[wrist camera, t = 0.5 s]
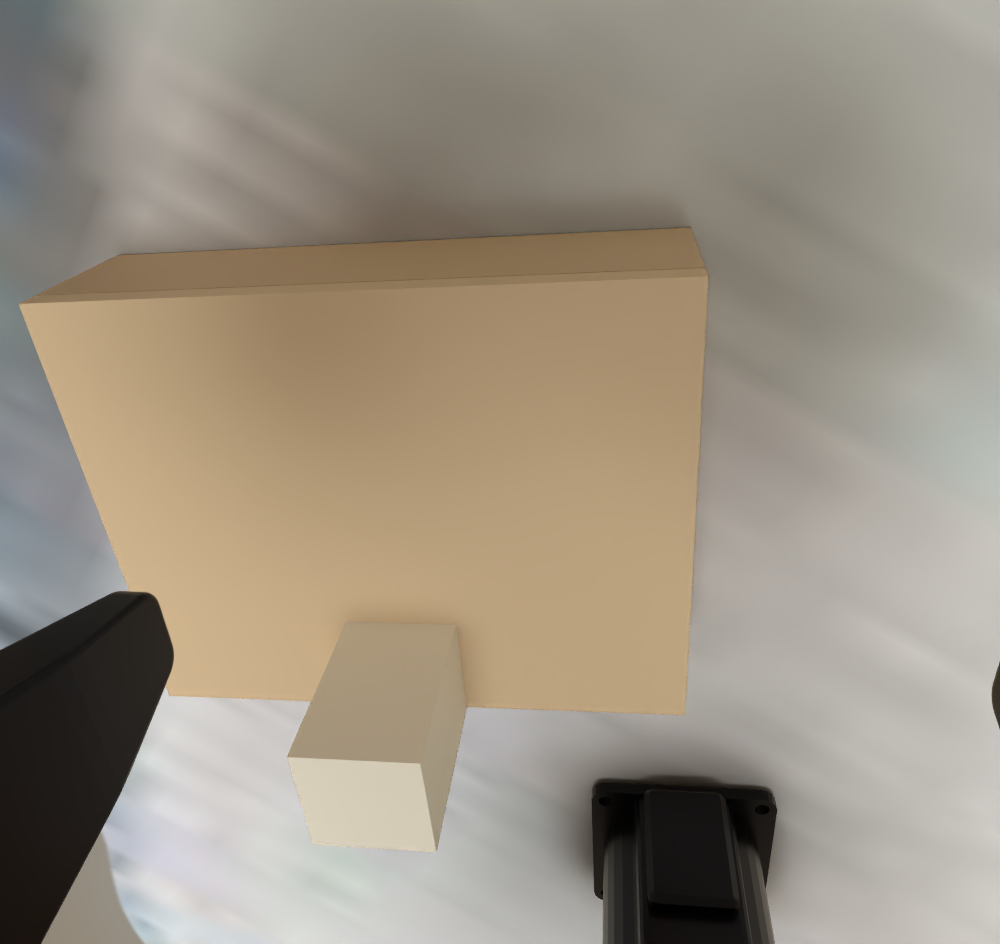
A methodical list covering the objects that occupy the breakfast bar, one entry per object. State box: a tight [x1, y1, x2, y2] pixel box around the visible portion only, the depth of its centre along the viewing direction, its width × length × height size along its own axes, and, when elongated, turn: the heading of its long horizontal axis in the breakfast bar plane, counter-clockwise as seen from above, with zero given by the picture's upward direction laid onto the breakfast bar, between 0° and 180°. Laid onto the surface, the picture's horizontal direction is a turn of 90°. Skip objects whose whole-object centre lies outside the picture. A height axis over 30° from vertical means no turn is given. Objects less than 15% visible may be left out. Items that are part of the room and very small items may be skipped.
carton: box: [37, 227, 705, 296], centre depth 22 cm, size 12×15×4 cm
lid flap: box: [19, 268, 709, 852], centre depth 18 cm, size 12×15×5 cm
